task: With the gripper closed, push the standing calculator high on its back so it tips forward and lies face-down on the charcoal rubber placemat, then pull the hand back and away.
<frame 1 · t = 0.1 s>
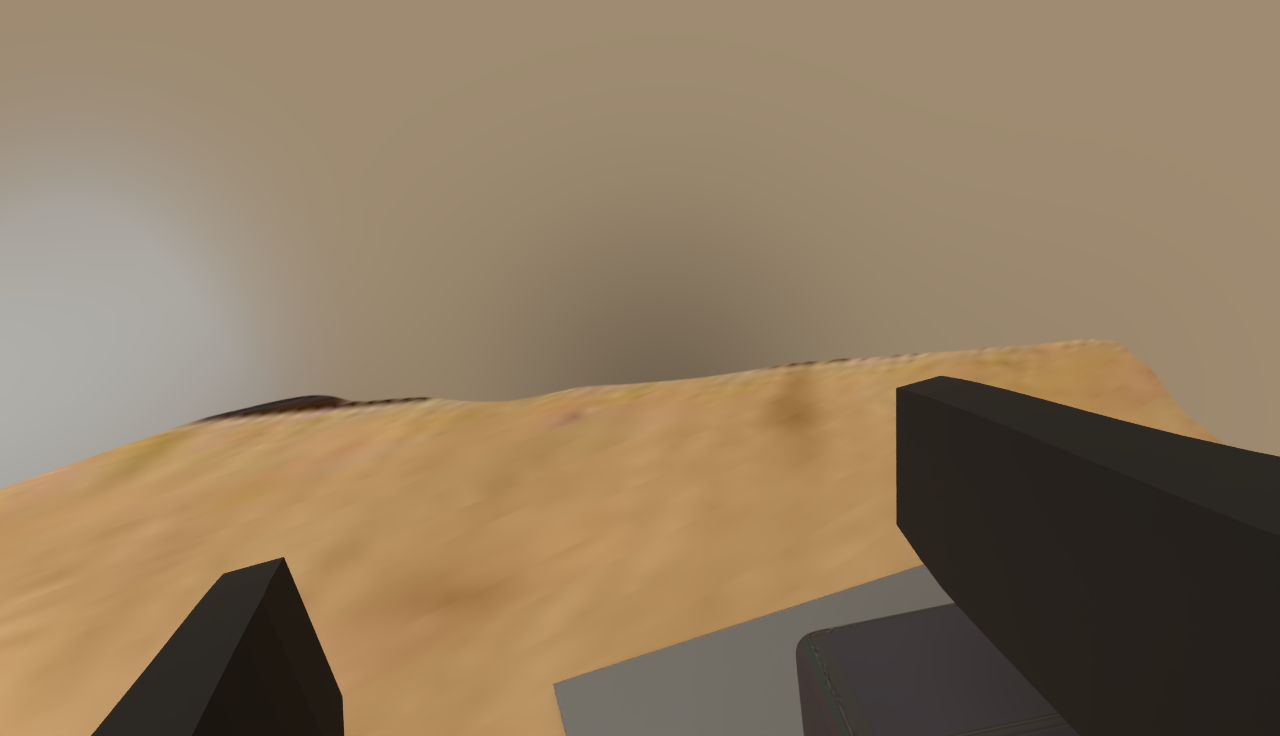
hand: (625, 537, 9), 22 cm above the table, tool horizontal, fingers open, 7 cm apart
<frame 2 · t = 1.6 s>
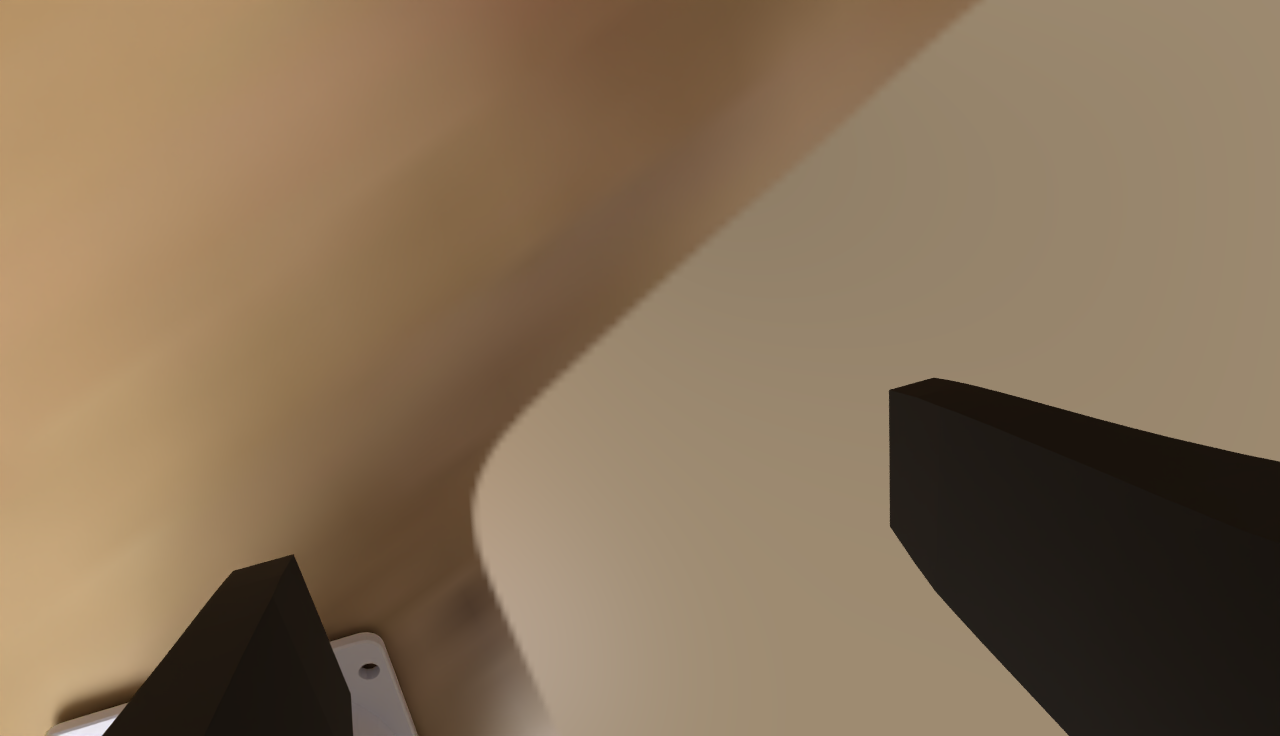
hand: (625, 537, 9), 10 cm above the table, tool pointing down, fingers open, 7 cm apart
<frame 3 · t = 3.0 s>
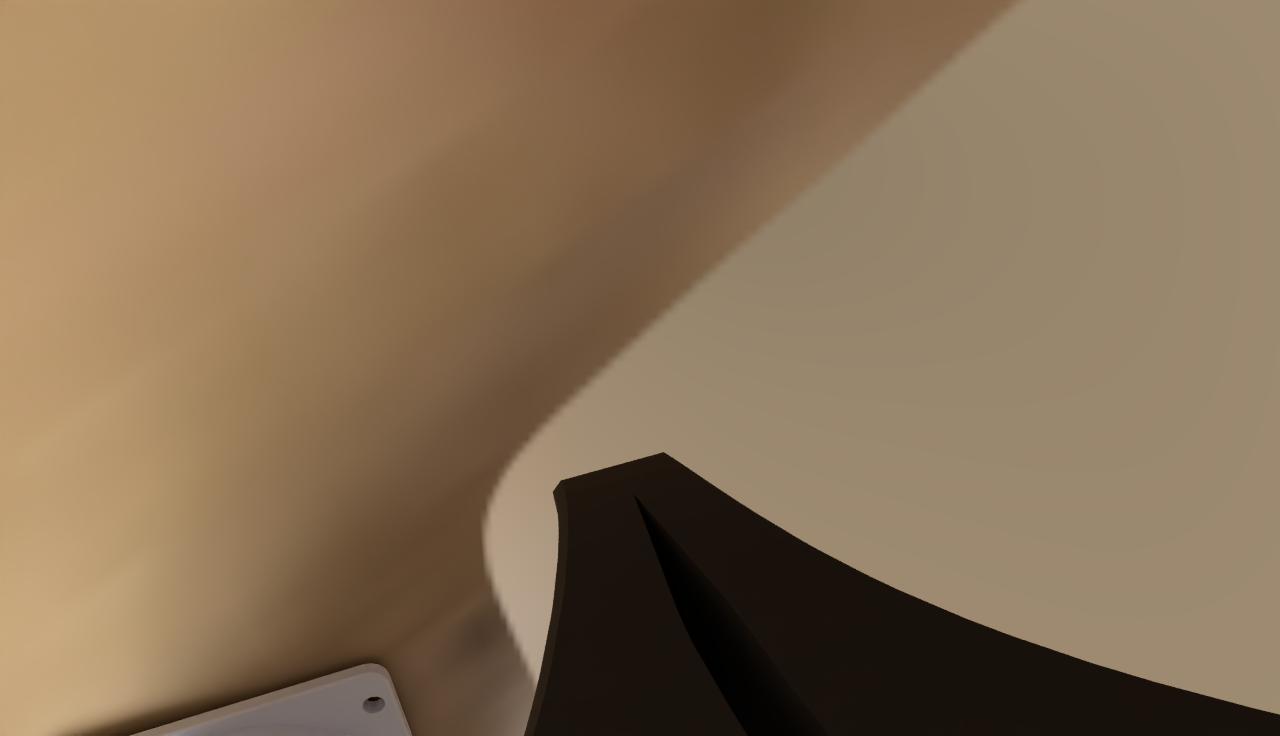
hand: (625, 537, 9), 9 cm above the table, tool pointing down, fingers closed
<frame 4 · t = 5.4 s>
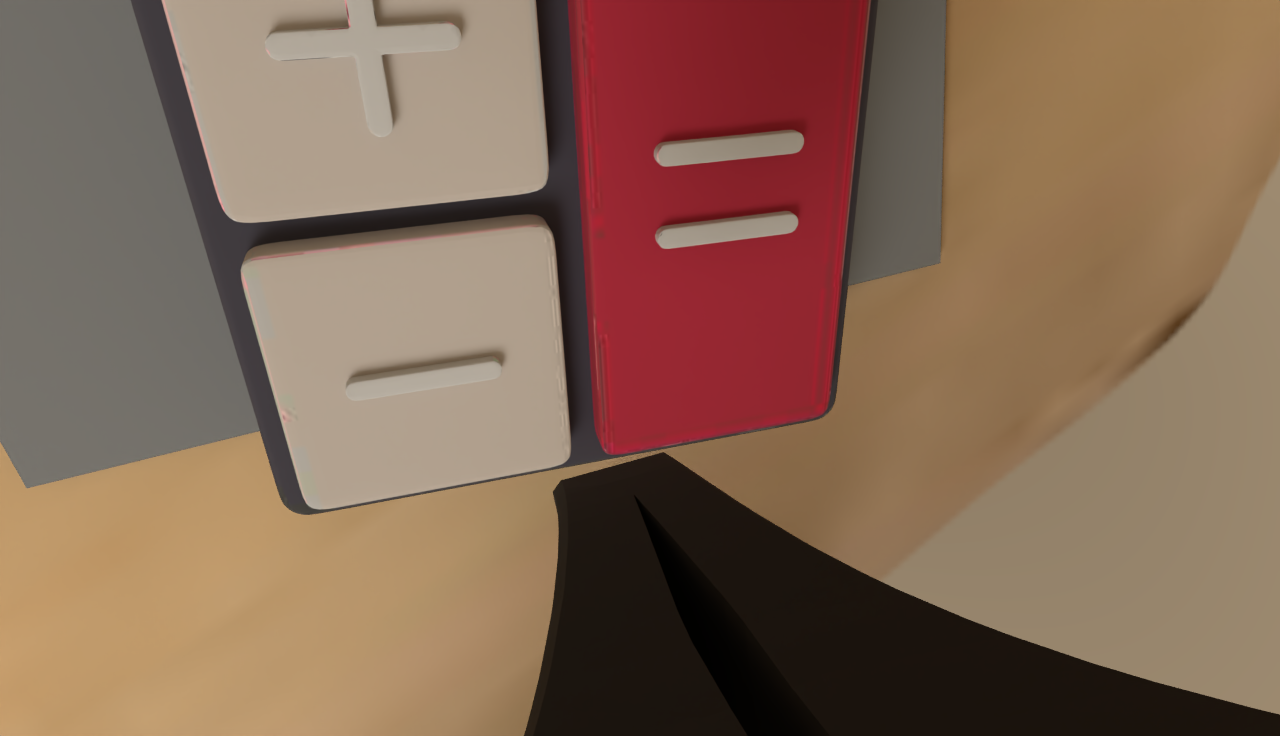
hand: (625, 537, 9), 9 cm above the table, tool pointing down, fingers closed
calculator: (569, 438, 17), point 2 cm above the table, touching placemat
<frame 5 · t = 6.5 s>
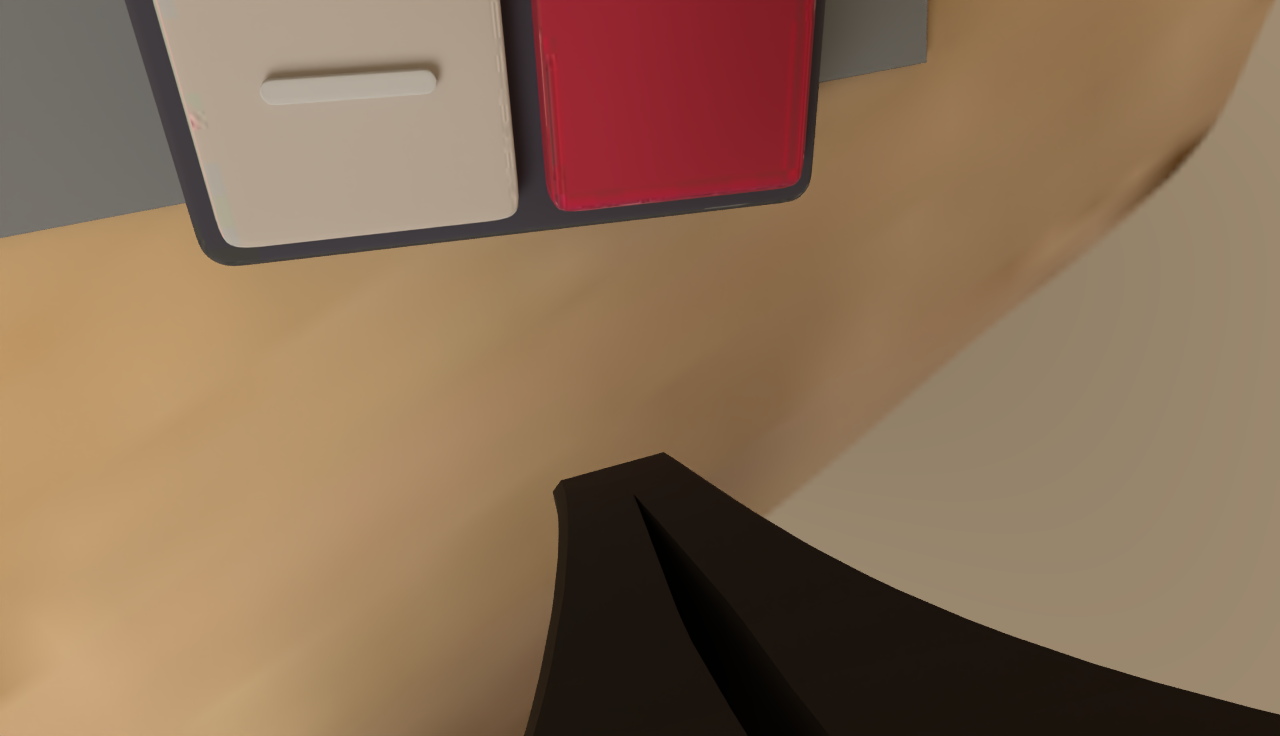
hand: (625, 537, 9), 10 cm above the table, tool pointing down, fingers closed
calculator: (523, 221, 16), point 2 cm above the table, touching placemat
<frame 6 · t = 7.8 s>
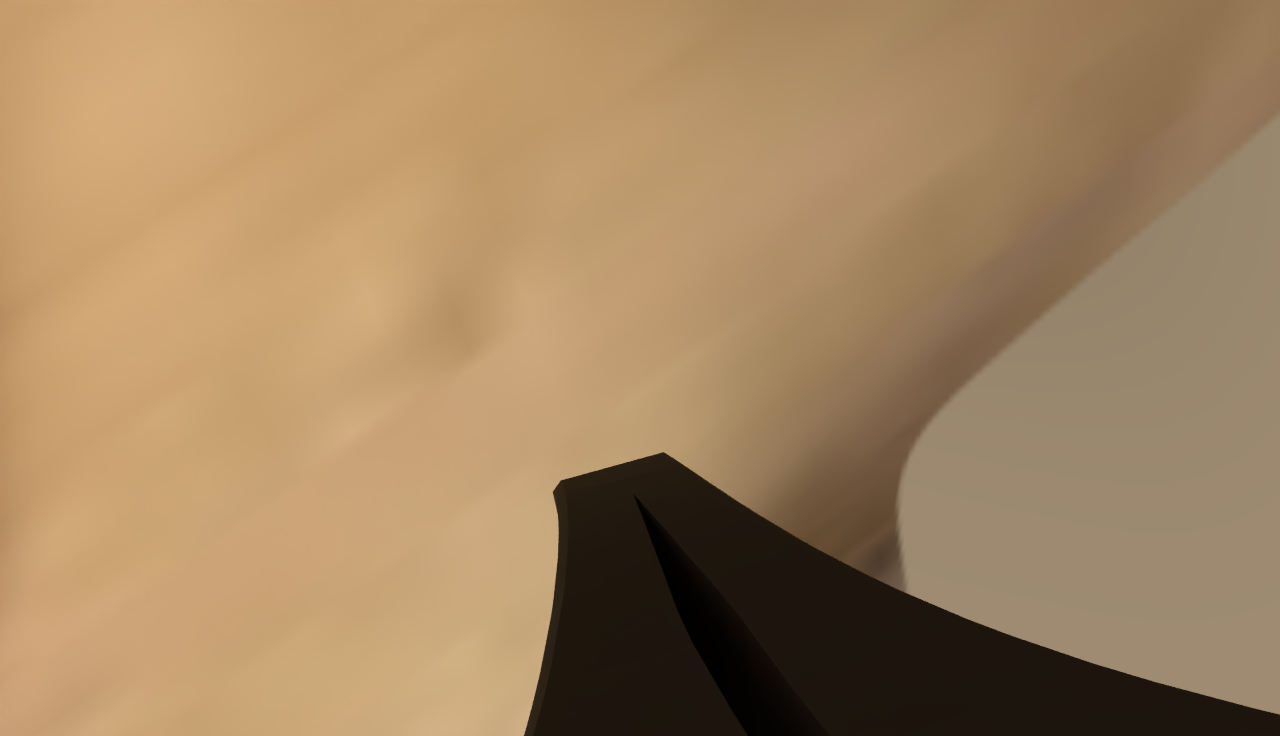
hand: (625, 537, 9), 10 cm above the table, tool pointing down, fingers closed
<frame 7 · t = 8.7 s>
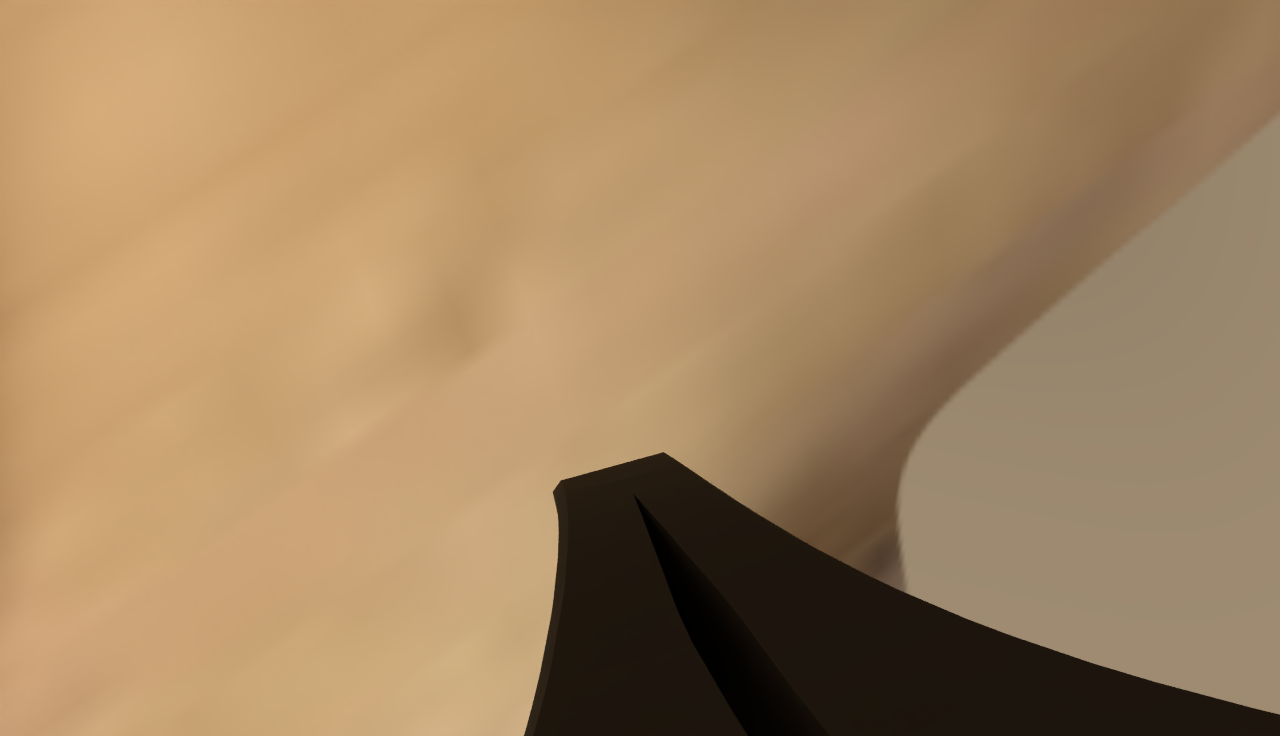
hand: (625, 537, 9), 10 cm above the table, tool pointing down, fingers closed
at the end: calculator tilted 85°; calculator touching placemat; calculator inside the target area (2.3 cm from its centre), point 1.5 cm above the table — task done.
